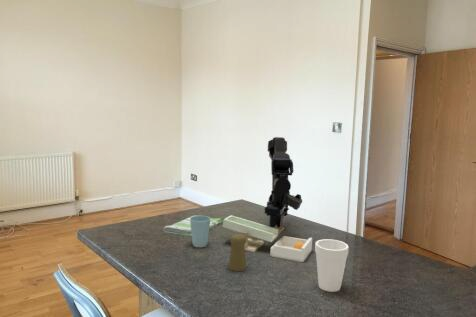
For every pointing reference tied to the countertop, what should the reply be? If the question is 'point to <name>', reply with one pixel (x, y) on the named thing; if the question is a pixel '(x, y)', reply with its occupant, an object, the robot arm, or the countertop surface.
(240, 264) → the olive knobbed post
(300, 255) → the bin
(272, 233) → the lever
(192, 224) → the cup
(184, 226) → the dish towel
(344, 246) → the foam cup
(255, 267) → the countertop surface
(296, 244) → the ball
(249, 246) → the lever stand
